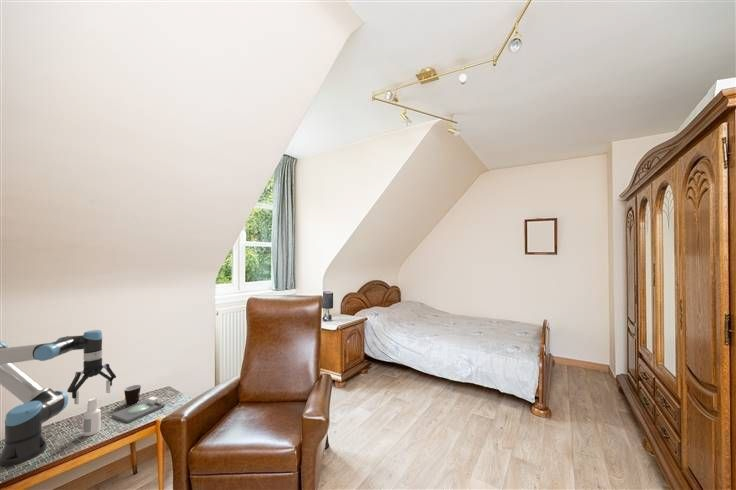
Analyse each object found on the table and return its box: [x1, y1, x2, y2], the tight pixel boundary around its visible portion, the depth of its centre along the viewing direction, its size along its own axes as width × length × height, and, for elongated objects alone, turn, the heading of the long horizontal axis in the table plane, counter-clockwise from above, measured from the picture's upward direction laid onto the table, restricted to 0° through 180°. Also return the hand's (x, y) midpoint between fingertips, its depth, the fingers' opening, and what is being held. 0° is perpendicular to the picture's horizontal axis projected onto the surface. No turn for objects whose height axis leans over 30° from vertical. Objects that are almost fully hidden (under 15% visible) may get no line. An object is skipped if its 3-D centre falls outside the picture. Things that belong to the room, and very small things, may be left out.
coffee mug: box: [123, 384, 142, 406], centre depth 193 cm, size 12×9×10 cm
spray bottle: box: [83, 397, 102, 437], centre depth 160 cm, size 7×7×18 cm
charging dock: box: [110, 396, 165, 424], centre depth 181 cm, size 20×18×4 cm
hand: (92, 398), depth 160 cm, fingers open, 13 cm apart
